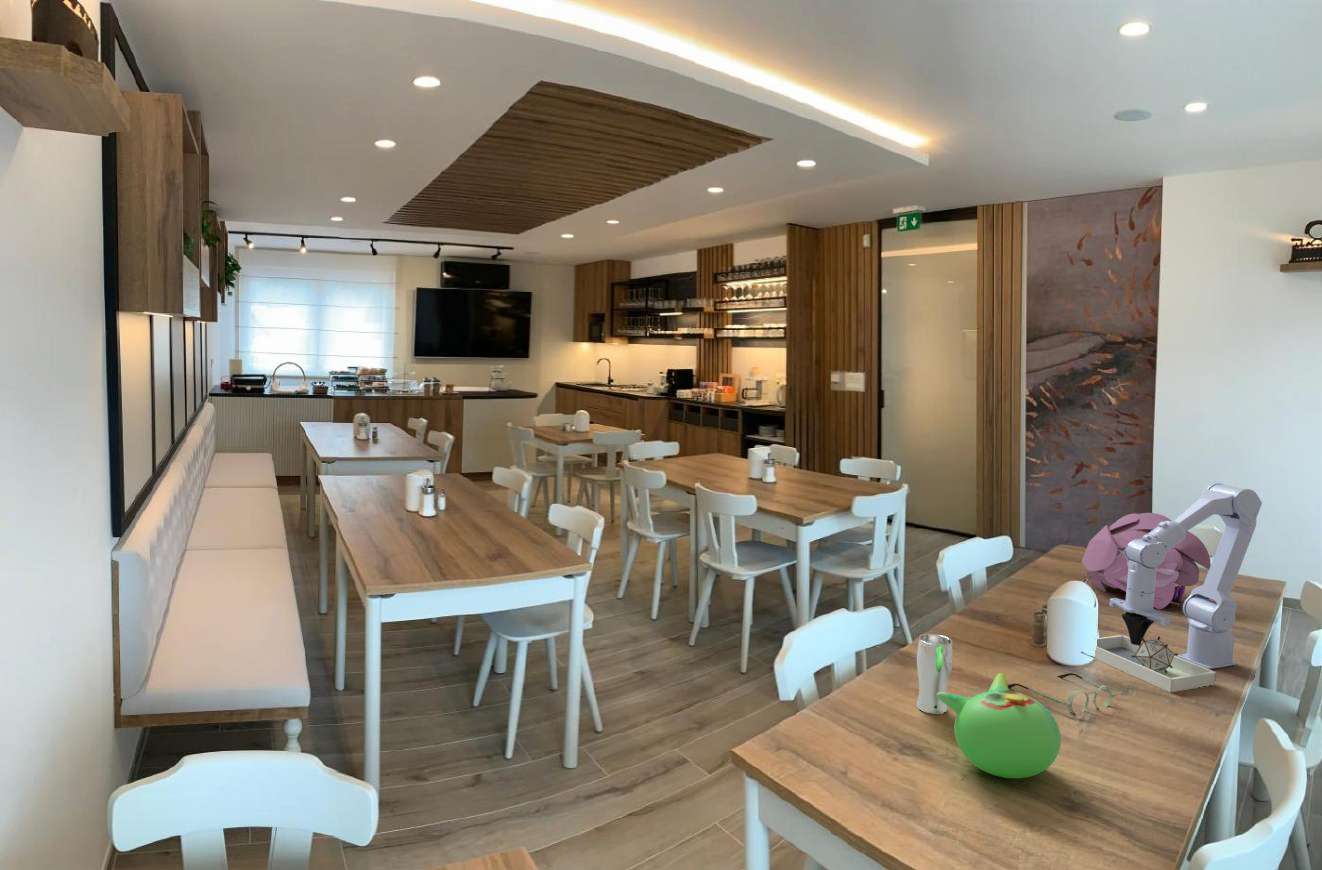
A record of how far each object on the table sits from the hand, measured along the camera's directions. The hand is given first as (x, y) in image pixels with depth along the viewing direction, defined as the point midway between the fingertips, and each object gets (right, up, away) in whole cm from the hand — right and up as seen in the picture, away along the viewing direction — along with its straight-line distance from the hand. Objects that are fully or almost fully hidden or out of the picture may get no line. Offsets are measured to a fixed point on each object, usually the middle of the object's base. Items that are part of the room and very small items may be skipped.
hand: (1135, 644), depth 181 cm
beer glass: (-59, -7, -25) cm, 64 cm away
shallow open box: (+1, -5, -2) cm, 6 cm away
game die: (+1, -6, -4) cm, 7 cm away
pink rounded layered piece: (+36, 0, +54) cm, 65 cm away
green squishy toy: (-55, -9, -48) cm, 73 cm away
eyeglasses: (-28, -7, -18) cm, 34 cm away
